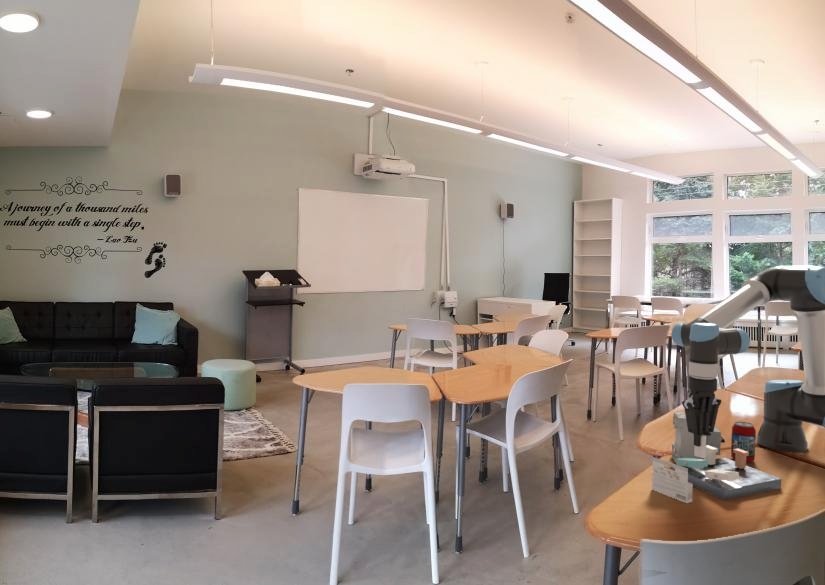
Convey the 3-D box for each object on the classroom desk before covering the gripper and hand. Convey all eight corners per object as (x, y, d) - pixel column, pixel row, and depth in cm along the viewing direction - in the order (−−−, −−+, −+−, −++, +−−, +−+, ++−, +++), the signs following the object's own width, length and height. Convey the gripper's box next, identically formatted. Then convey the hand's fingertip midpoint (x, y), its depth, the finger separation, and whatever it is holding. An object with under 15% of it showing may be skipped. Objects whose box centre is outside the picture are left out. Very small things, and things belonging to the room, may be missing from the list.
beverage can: (732, 461, 189) (733, 425, 188) (729, 455, 195) (730, 420, 195) (756, 464, 187) (757, 427, 186) (752, 458, 193) (754, 422, 192)
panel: (723, 466, 185) (724, 456, 185) (783, 489, 166) (783, 478, 166) (669, 475, 177) (670, 465, 177) (725, 501, 159) (726, 489, 158)
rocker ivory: (716, 475, 168) (715, 468, 168) (740, 478, 161) (739, 471, 161) (704, 477, 166) (703, 470, 167) (727, 481, 159) (726, 474, 159)
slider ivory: (707, 461, 180) (708, 445, 179) (717, 465, 176) (718, 448, 176) (702, 461, 179) (703, 445, 179) (712, 465, 176) (713, 449, 175)
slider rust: (737, 464, 177) (738, 448, 176) (748, 468, 173) (748, 452, 173) (732, 465, 176) (733, 449, 176) (743, 469, 173) (743, 452, 172)
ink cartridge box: (656, 488, 168) (657, 455, 167) (692, 502, 158) (693, 466, 158) (651, 490, 166) (651, 456, 166) (687, 504, 157) (688, 468, 156)
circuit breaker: (725, 467, 184) (727, 420, 183) (677, 464, 187) (678, 417, 186) (718, 459, 192) (719, 414, 191) (671, 456, 194) (673, 411, 194)
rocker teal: (687, 463, 178) (686, 456, 178) (709, 466, 171) (708, 459, 171) (675, 465, 176) (674, 458, 177) (696, 468, 169) (695, 461, 169)
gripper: (708, 372, 175) (706, 450, 176) (675, 375, 170) (672, 455, 172) (730, 377, 168) (727, 458, 169) (696, 380, 163) (693, 463, 165)
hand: (699, 456), depth 171 cm, fingers closed
